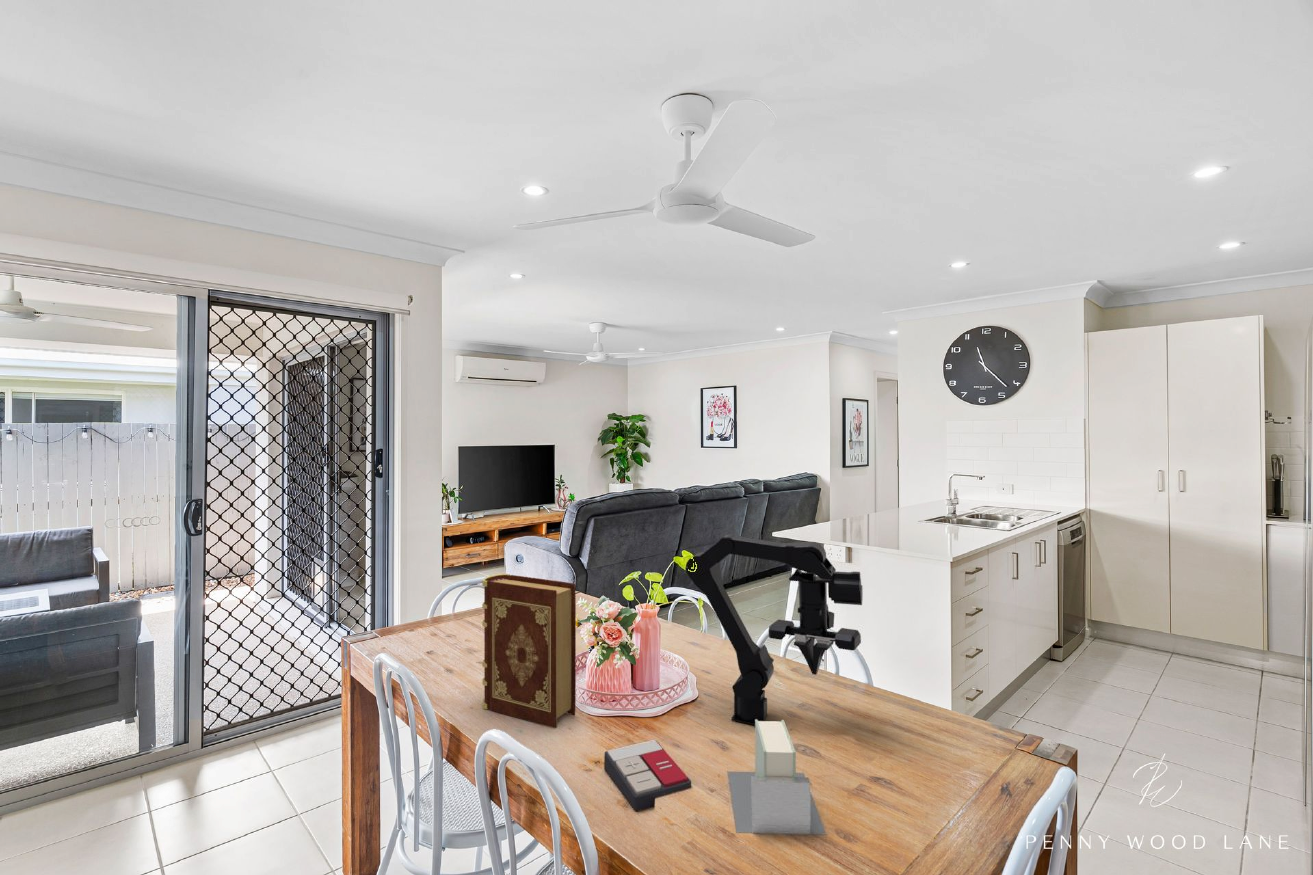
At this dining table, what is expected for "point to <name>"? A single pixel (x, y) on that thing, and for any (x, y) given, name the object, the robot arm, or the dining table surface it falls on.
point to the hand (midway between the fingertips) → (814, 673)
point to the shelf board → (742, 804)
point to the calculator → (644, 773)
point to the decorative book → (529, 647)
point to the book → (773, 750)
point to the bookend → (780, 805)
